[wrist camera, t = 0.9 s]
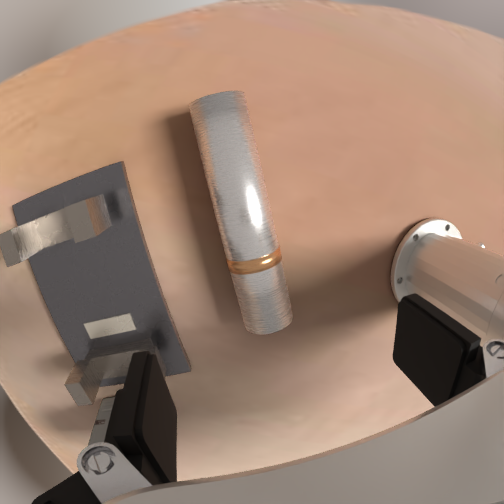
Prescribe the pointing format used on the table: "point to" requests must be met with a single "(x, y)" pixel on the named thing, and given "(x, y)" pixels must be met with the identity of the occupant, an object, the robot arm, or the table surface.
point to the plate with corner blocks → (96, 278)
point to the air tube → (242, 209)
